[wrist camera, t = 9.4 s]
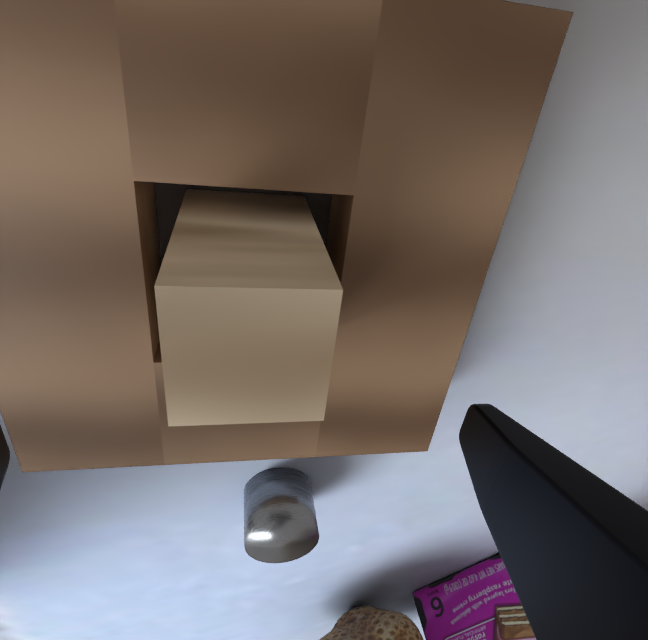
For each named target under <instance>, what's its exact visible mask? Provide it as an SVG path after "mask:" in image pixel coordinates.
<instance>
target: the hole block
mask: <svg viewBox="0 0 648 640" xmlns="http://www.w3.org/2000/svg"><path fill="white" fill-rule="evenodd" d="M572 15H573V12H569V11H563V10H557V9H551V8H545V7H539V6H533V5H526V4H520V3H514V2H508V1H502V0H0V411H1V414H2V417H3V420H4V422H5V425H6V428H7V431H8V434H9V436H10V439H11V442H12V445H13V448H14V450H15V453H16V456H17V459H18V462H19V464H20V467H21V470H22V472H36V471H55V470H75V469H94V468H113V467H132V466H151V465H171V464H190V463H209V462H228V461H247V460H267V459H286V458H305V457H324V456H343V455H363V454H382V453H401V452H420V451H428V448H429V445H430V442H431V439H432V436H433V433H434V430H435V427H436V424H437V421H438V418H439V415H440V412H441V409H442V406H443V403H444V400H445V397H446V394H447V391H448V388H449V385H450V382H451V379H452V376H453V373H454V370H455V367H456V364H457V361H458V358H459V355H460V352H461V349H462V346H463V343H464V340H465V337H466V334H467V331H468V328H469V325H470V322H471V319H472V316H473V313H474V310H475V307H476V304H477V301H478V298H479V295H480V292H481V289H482V286H483V283H484V280H485V276H486V273H487V270H488V267H489V264H490V261H491V258H492V255H493V252H494V249H495V246H496V243H497V240H498V237H499V234H500V231H501V228H502V225H503V222H504V219H505V216H506V213H507V210H508V207H509V204H510V201H511V198H512V195H513V192H514V189H515V186H516V183H517V180H518V177H519V174H520V171H521V168H522V165H523V162H524V159H525V156H526V153H527V150H528V147H529V144H530V141H531V138H532V135H533V132H534V129H535V126H536V123H537V120H538V117H539V114H540V111H541V108H542V105H543V102H544V99H545V96H546V93H547V90H548V87H549V84H550V81H551V78H552V75H553V72H554V69H555V66H556V63H557V60H558V57H559V54H560V51H561V48H562V45H563V42H564V39H565V36H566V33H567V30H568V27H569V24H570V21H571V18H572ZM154 182H158V183H173V184H189V185H204V186H219V187H234V188H249V189H264V190H280V191H295V192H310V193H325V194H332V199H331V207H330V216H329V224H328V232H327V240H326V250H327V252H328V255H329V257H330V259H331V262H332V264H333V267H334V269H335V271H336V274H337V276H338V279H339V281H340V283H341V286H342V288H343V294H342V301H341V308H340V315H339V321H338V328H337V335H336V342H335V348H334V355H333V362H332V368H331V375H330V382H329V389H328V395H327V402H326V409H325V416H324V421H302V422H275V423H249V424H222V425H196V426H169V427H168V418H167V408H166V398H165V388H164V378H163V368H162V358H161V348H160V338H159V328H158V318H157V308H156V298H155V288H154V285H155V282H156V279H157V276H158V273H159V270H160V267H161V257H160V245H159V233H158V222H157V210H156V198H155V186H154Z"/></svg>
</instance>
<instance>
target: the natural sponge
mask: <svg viewBox="0 0 648 640" xmlns="http://www.w3.org/2000/svg"><path fill="white" fill-rule="evenodd" d="M320 640H423V637H422V635H421V633H420V631H419V629H418V628H417V626H416V625H415V624H414V623H413V622H412V620H411V619H409V618H408V617H407V616H406V615H404V614H402V613H399V612H394V611H389V610H381V609H377V608H375V607H373V606H368V605H365V606H358V607H355V608H353V609H351V610H349V611H347V612H346V613H344V614H343V615H342V616H341V617H340V618H339V619H338V621H337V623H336V624H335V626H334V628H333V629H332V630H331V632H329V633H328V634H326V635H325V636H324V637H322V638H321V639H320Z"/></svg>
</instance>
